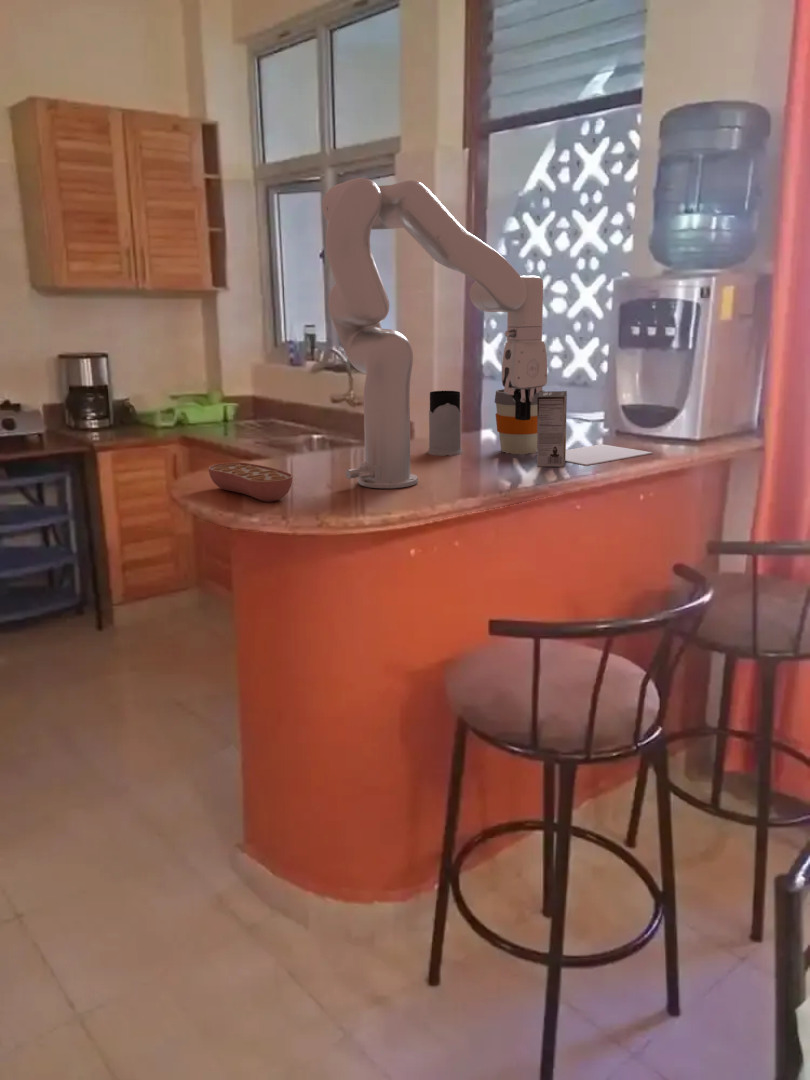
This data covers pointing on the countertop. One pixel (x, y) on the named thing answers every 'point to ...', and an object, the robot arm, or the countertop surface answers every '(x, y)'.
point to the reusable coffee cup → (515, 425)
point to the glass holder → (444, 423)
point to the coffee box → (551, 428)
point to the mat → (600, 454)
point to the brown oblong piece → (252, 480)
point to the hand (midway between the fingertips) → (522, 419)
